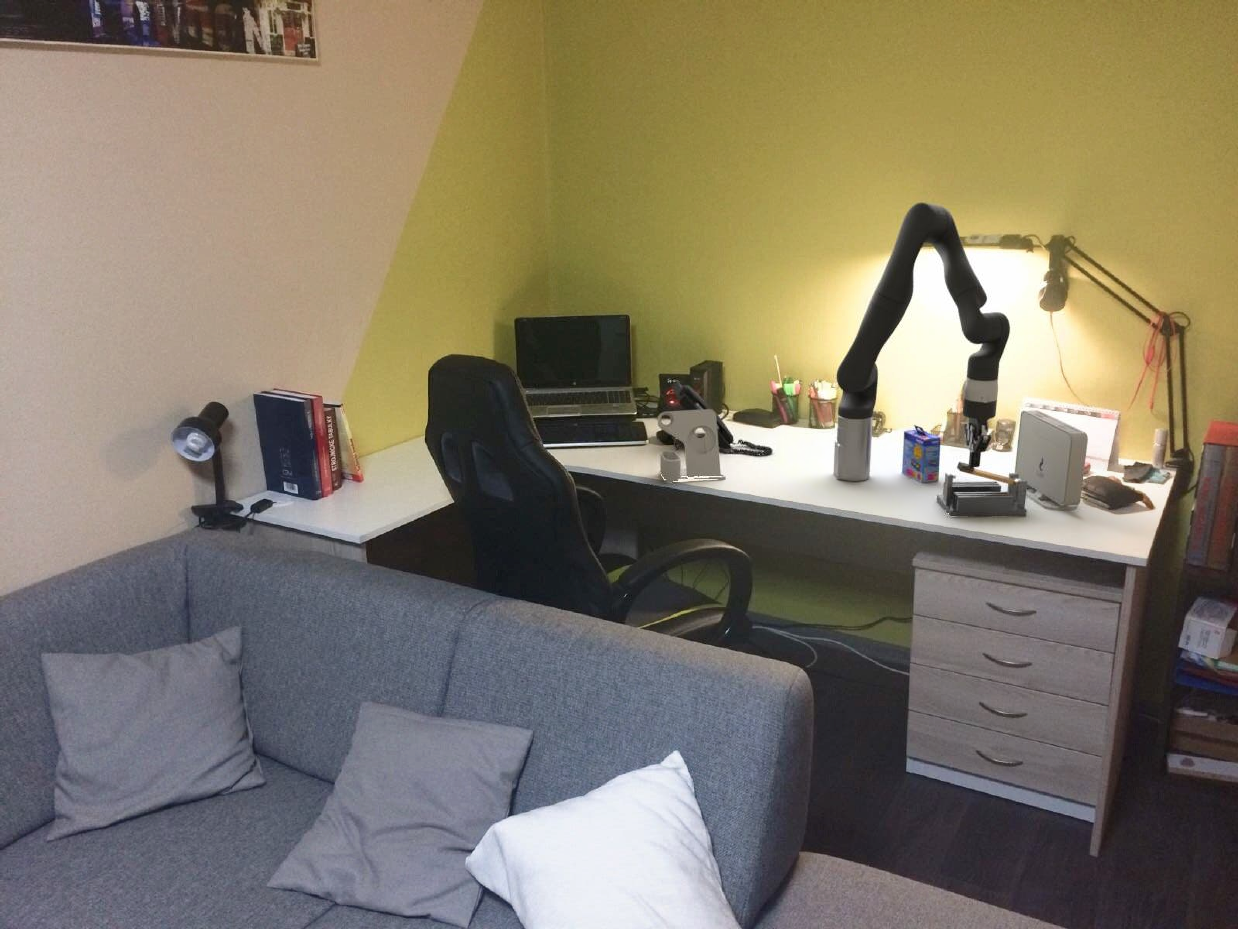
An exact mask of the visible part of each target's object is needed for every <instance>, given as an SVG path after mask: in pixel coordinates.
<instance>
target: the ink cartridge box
mask: <svg viewBox="0 0 1238 929" xmlns="http://www.w3.org/2000/svg"><path fill="white" fill-rule="evenodd" d="M913 426H914V429H908V430H904V431H903V446H902V463H901V464H902V465H901V467H902V468H901V474H904V475H905V476H908V477H909V476H910V477H909V478H912V479H914V480H915V479H916V480H915V481H917V480H918V482H919V483H929V482H930V483H931V482H938V481H939V477H940V459H941V458H940V457H941V441H942V440H941V437H940V436H938V435H935V434H932V433H929V432H928V431H925V430H924V428H923V427H921V426H918V425H916V424H914V425H913Z"/></svg>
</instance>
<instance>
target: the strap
mask: <svg viewBox="0 0 1238 929" xmlns="http://www.w3.org/2000/svg"><path fill="white" fill-rule="evenodd" d="M956 468H957V469H958V470H959V472H963V473H965V474H969V475H973V476H975V477H976V476H977V477H982V478H985V479H988V480H992V481H995V482H1000V483H1004V484H1007V485H1008V484H1011V485H1015V486H1016V487H1017V481H1018V480H1020V479H1019V478H1017V477H1013V478H1009V476H1004V475H1002V474H1001V475H1000V474H997V473H993V472H989V471H986V470H982V469H981V470H980V469H977V468H976V467H971V466H970V465H969V463H966V462H965V463H964V462H962V461H959V462H958V464H957V466H956Z"/></svg>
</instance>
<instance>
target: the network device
mask: <svg viewBox="0 0 1238 929" xmlns="http://www.w3.org/2000/svg"><path fill="white" fill-rule="evenodd" d="M1088 441H1089V438H1088V434H1087V433H1086V431H1083V430H1081V429H1078V428H1077V427H1074V426H1072V425H1070V424H1068V423H1066V422H1064V421H1062V420H1060V419H1057V418H1055V417H1053V416H1052V415H1050V414H1047V413H1045V412H1043V411H1041V410H1038V409H1033V410H1022V411H1021V413H1020V417H1019V429H1018V438H1017V445H1016V446H1017V448H1016V457H1015V467H1014V473H1018V474H1019V477H1018V479H1019V480H1026V481H1028V482H1027V487H1028V488H1033V489H1035V490H1036V491H1035V492H1034V493H1030V492H1028V491H1026V496H1027V497H1026V498H1028V497H1029V498H1028V499H1029V500H1030V501H1032V500H1033V502H1034V503H1036V504H1037V505H1039V506H1040V507H1042V508H1044V509H1047V510H1053V511H1062V510H1063V511H1064V510H1075V509H1077V508H1078V506H1079V505H1080V503H1081V498H1082V497H1081V496H1082V489H1083V483H1084V473H1085V465H1086V459H1087V458H1086V456H1087V450H1088V443H1089V442H1088ZM1042 500H1052V501H1054V502H1055V503H1057V504H1059V505H1049V504H1047V503H1045V502H1043V501H1042Z"/></svg>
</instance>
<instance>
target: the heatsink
mask: <svg viewBox="0 0 1238 929" xmlns="http://www.w3.org/2000/svg"><path fill="white" fill-rule="evenodd" d="M956 477H957V475H956V473H955V472H952V471H951V472H945V474H944V482H943V488H942V489H943V491H942V494H936V500H937V501H936V502H937V503H938V504H939V506H940V505H941V506H940V507H941V508H942V507H943V508H944V509H943V508H942V509H943V510H944V511H945V510H946V511H945V513H946V514H947V513H949V515H950V516H968V517H967V518H976V517H977V518H981V517H983V518H986V517H987V518H991V517H992V516H993V518H995V517H994V516H998V517H997V518H999V516H1007V517H1009V516H1011V517H1027V512H1028V510H1027V509H1026V500H1027V499H1026V498H1027V497H1026V492H1028V490H1027V489H1028V488H1027V482H1028V481H1026V480H1020V479H1019V478H1018V477H1019V474H1018V473H1015V472H1009V473H1008V477H1009V478H1013V477H1017V478H1018V479H1019V480H1018V481H1017V487H1016V486H1015V485H1011V484H1007V491H1002V485H1001V484H1000V483H998V481H954V479H956ZM949 515H948V516H949ZM950 516H949V517H950ZM970 516H972V517H970ZM974 516H975V517H974ZM1007 517H1006V518H1007ZM1009 518H1010V517H1009Z"/></svg>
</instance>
